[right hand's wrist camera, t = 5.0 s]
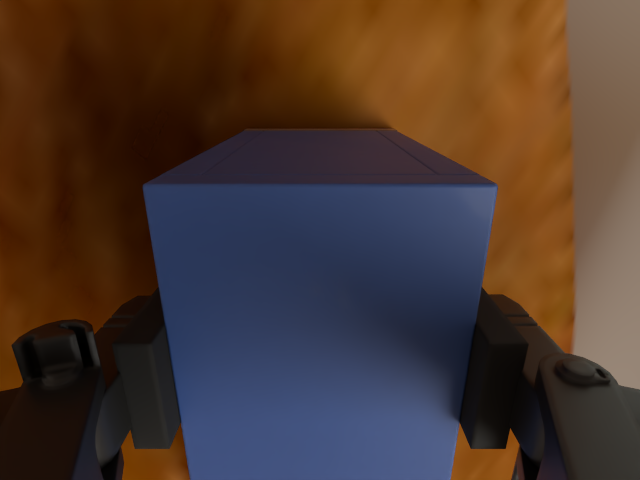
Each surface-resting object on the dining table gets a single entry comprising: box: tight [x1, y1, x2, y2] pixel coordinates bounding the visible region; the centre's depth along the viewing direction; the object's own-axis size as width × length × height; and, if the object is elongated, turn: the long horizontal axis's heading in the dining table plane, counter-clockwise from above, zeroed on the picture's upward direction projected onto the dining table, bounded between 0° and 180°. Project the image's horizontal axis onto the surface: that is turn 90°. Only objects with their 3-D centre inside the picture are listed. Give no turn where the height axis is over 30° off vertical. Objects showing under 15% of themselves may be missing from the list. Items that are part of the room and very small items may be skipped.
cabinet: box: [143, 128, 498, 480], centre depth 15 cm, size 17×7×11 cm, turn 0°
